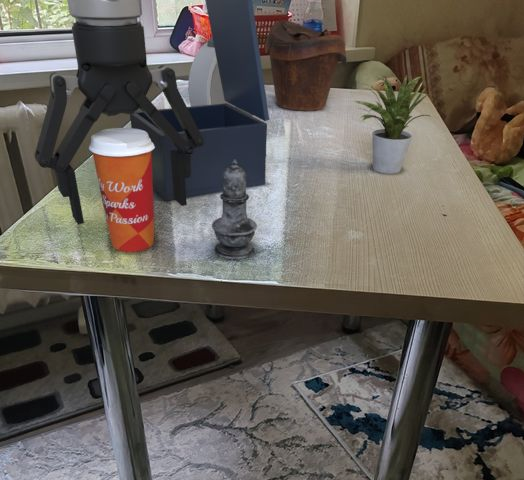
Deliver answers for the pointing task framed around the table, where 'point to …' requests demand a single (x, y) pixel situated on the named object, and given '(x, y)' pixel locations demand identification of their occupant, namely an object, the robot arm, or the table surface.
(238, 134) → the dark blue open box
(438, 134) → the table surface
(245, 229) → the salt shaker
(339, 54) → the brown bucket
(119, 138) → the paper cup
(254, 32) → the lid
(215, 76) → the alarm clock
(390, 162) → the house plant
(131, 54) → the robot arm
